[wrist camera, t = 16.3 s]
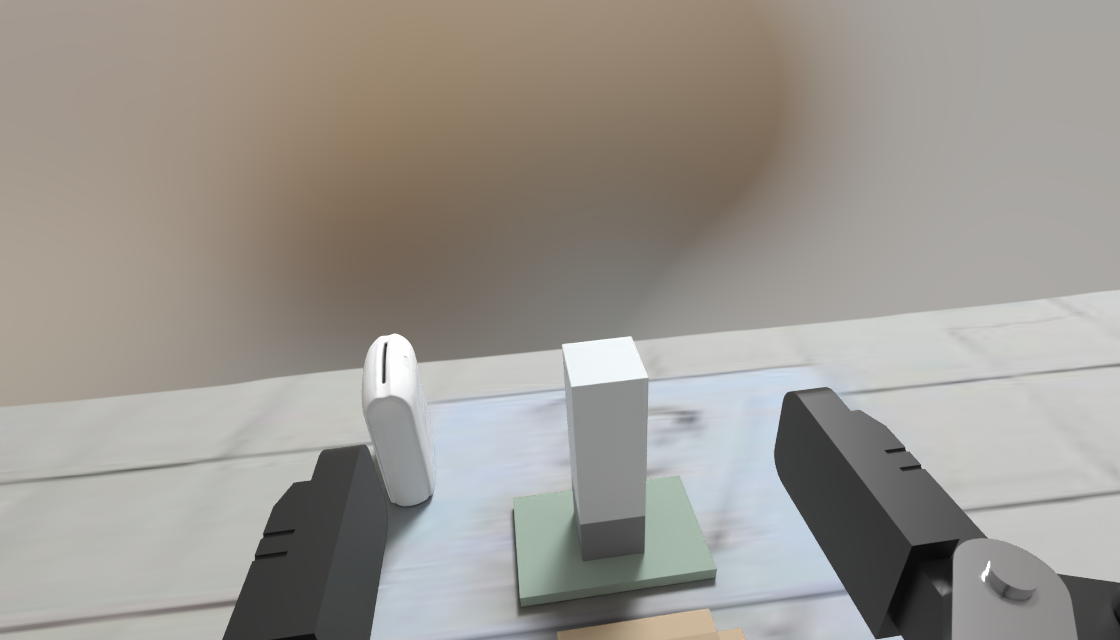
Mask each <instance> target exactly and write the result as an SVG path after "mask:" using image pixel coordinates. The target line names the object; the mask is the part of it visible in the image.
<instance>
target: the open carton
mask: <svg viewBox="0 0 1120 640" xmlns="http://www.w3.org/2000/svg"><path fill="white" fill-rule="evenodd" d="M557 637H558V640H746V638H745V636H744V633H743V631H742V628H738V629H731V630H725V631H718V632H717V630H716V627H715V624H714V622H713V619H712V616H711V613H710V611H709V608H708V609H701V610H695V611H688V612H682V613H675V614H669V615H663V616H656V617H650V618H643V619H637V620H630V621H624V622H617V623H611V624H604V625H598V626H591V627H585V628H578V629H572V630H565V631H559V632H557Z"/></svg>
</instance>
